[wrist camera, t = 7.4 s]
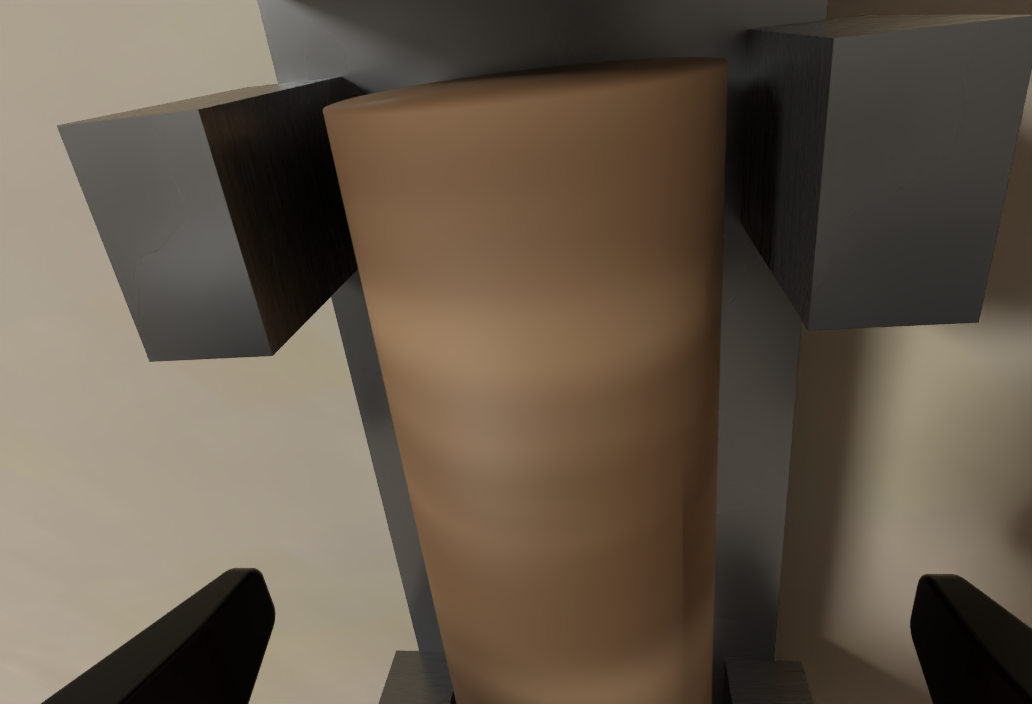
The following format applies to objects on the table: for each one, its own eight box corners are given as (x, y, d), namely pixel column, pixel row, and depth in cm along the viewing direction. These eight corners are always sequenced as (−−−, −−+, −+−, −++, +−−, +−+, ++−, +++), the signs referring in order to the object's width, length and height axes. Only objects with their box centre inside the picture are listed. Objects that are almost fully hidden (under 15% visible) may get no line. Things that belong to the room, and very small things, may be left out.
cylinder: (385, 86, 9) (249, 130, 5) (695, 50, 8) (776, 74, 5) (502, 724, 15) (475, 954, 11) (691, 727, 14) (726, 970, 10)
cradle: (865, -207, 8) (1138, -444, 4) (775, 764, 16) (832, 1021, 12) (230, -101, 9) (-69, -193, 5) (442, 747, 17) (391, 974, 13)
